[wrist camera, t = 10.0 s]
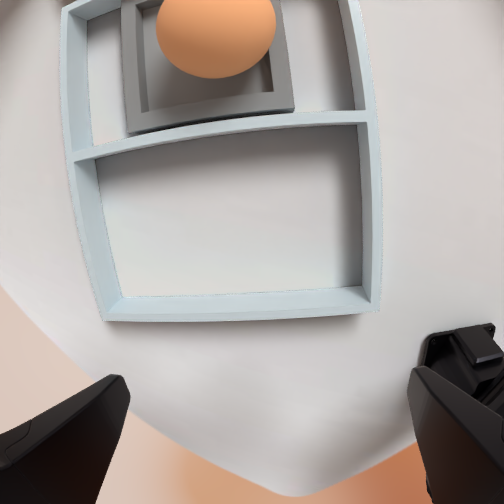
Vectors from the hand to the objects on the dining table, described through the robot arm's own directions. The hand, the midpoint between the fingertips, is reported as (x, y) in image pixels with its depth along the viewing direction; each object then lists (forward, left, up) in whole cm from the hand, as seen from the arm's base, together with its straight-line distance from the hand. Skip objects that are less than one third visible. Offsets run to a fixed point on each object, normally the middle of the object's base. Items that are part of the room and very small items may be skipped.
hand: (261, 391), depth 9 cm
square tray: (+13, +3, -12) cm, 18 cm away
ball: (+13, +3, -11) cm, 18 cm away
